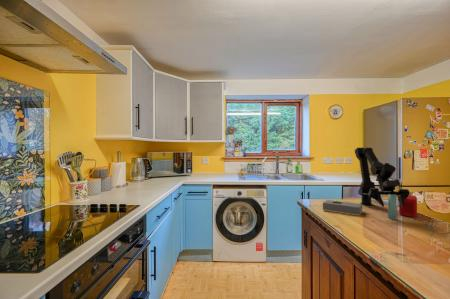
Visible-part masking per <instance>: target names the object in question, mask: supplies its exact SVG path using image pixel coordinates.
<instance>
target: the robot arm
mask: <svg viewBox="0 0 450 299" xmlns="http://www.w3.org/2000/svg"><path fill="white" fill-rule="evenodd" d="M354 154H355V157H356V158H357V160H358V161H359V167H360V172H361V174H360V175H361V180H362V181H360V182H361V183H360V187H359V189H358V191H357V194H358V195H359V196H361V202H360V203H359V204H362V206H373V203H372V199H373V200H375V201H376V202H377V203H378V204H380V206H382V207H385V203H384V200H383V199H382V195H385V196H388V194H395V195H396V197H397V198H398V199H397V200H398V202H400V204H401V206H402V207H404V200H405V199H406V198H407V197H408V196H409V195H411V192H410V190H409V189H407V188H399V189H398V191H395V190H396V187H399V186H400V185H401V181H400V180H399V179H390V178H392V176H393V175H394V174H395V172H396V167H395V166H393V165H392V164H390V163H389V162H385V163H383V162H381V161H379V159H378V157H377V156H376V154H375V153H374V150H373V147H356V148H355V149H354ZM369 164H370V169H369ZM370 172H371V175H374V176H376V179H375V181H376V182H378V183H377V184H378V188H376V185H375V182H374V181H372V180H371V175H370Z"/></svg>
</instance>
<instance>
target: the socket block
mask: <svg viewBox="0 0 450 299" xmlns="http://www.w3.org/2000/svg"><path fill="white" fill-rule="evenodd" d="M322 210H323V211H326V210H327V212H328V211H329V212H334V213H340V214H341V213H342V214H348V215H354V216H361V214H362V213H363V204H360V203H358V202H357V203H356V202H355V203H354V202H347V201H341V200H339V201H338V200H331V199H326V200H325V201H323V202H322Z"/></svg>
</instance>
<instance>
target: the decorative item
mask: <svg viewBox="0 0 450 299" xmlns="http://www.w3.org/2000/svg"><path fill="white" fill-rule="evenodd" d="M397 208H399V209H398V213H399V215H400V216H405V217H413V218H415V217H417V216H418V197H417V196H415V195H411V194H409V196H408V197H407V198H406V199H405V200H404V207H402V206H401V204H400V202H399V201H398V202H397Z"/></svg>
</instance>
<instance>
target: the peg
mask: <svg viewBox="0 0 450 299" xmlns="http://www.w3.org/2000/svg"><path fill="white" fill-rule="evenodd" d="M387 201H388V202H387V206H388V207H387V208H388V209H387V211H388V212H387V214H388V215H387V218H389V219H388V220H392V221H395V220H396V221H397V195H395V194H388V195H387Z"/></svg>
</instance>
